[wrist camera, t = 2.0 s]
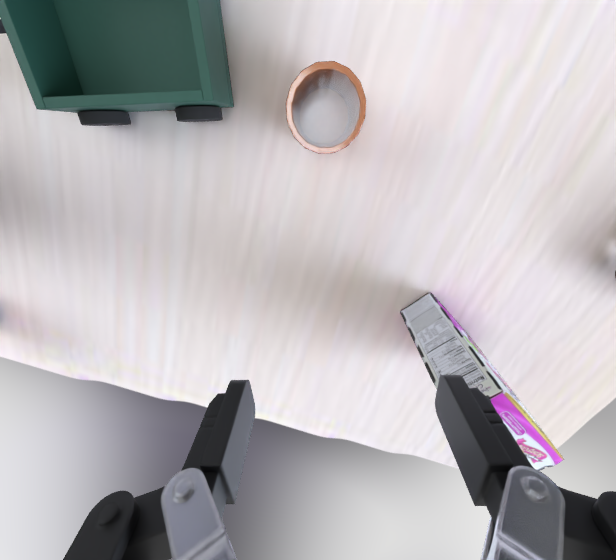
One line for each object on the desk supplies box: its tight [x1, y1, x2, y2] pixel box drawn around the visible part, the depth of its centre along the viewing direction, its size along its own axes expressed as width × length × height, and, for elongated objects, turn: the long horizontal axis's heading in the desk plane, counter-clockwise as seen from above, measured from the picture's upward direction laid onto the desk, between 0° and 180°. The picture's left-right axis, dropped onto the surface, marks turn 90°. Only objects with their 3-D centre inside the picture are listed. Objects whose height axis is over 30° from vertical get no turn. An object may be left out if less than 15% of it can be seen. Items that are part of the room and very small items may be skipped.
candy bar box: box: [400, 292, 564, 471], centre depth 31 cm, size 11×5×16 cm, turn 43°
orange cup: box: [286, 61, 366, 154], centre depth 24 cm, size 5×5×10 cm
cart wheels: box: [0, 19, 222, 126], centre depth 24 cm, size 18×14×4 cm
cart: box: [0, 0, 234, 113], centre depth 23 cm, size 15×12×6 cm
